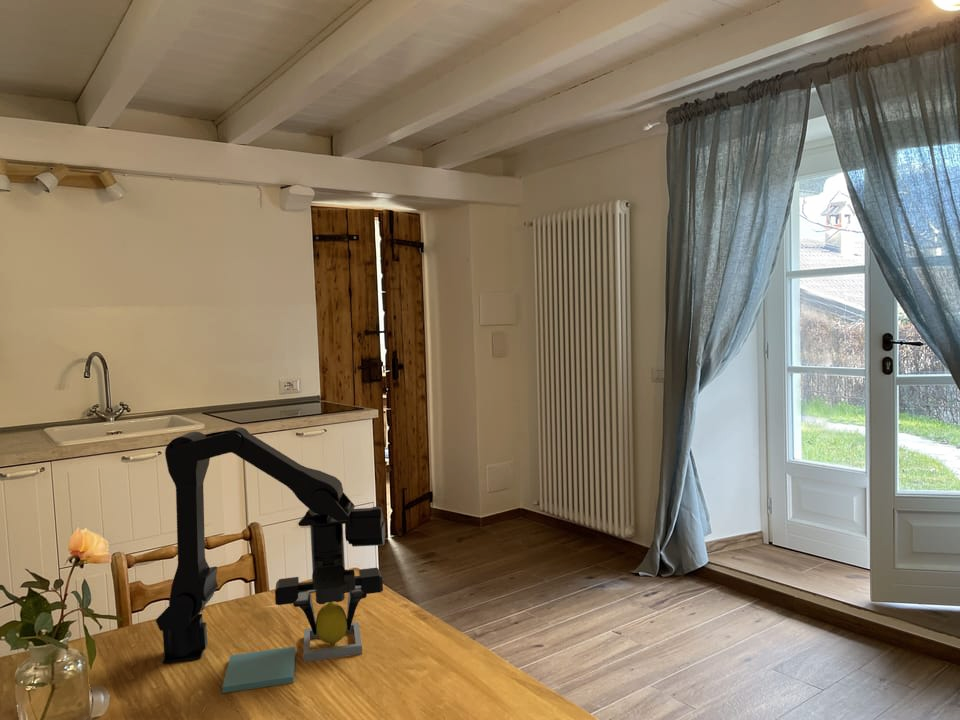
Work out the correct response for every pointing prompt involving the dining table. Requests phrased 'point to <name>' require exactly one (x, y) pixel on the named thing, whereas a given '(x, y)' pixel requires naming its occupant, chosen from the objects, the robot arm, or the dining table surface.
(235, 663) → the tile
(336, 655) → the holder
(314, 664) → the dining table surface
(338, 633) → the lemon
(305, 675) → the dining table surface
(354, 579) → the robot arm
